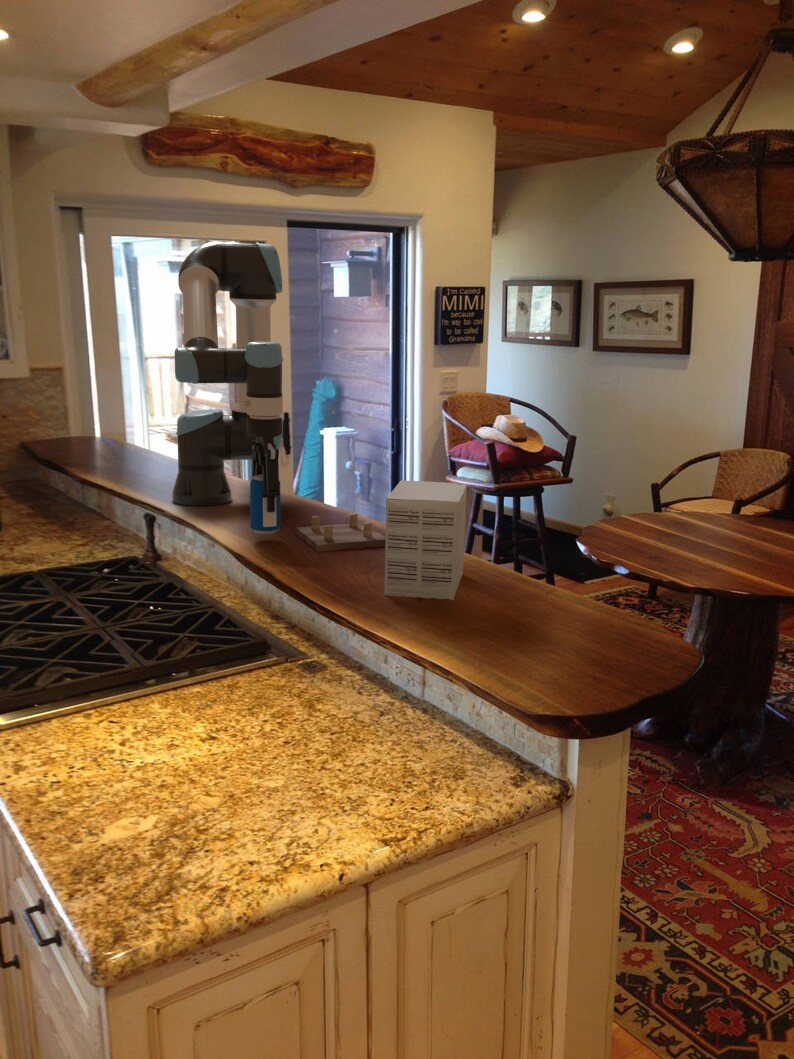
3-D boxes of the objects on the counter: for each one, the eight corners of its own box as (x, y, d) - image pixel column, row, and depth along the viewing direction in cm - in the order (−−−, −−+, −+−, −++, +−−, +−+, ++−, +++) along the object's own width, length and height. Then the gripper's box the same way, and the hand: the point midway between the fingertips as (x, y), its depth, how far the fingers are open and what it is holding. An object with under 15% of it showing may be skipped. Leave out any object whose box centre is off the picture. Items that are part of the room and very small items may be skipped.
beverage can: (283, 528, 201) (283, 474, 198) (276, 535, 195) (276, 480, 192) (254, 526, 202) (254, 473, 199) (247, 534, 196) (246, 479, 193)
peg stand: (296, 534, 205) (295, 514, 204) (362, 529, 211) (362, 510, 210) (317, 551, 191) (317, 530, 190) (388, 545, 197) (388, 525, 196)
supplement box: (397, 569, 180) (399, 479, 175) (464, 574, 178) (468, 483, 173) (381, 595, 163) (383, 497, 159) (455, 601, 161) (459, 501, 157)
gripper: (236, 411, 199) (238, 513, 205) (258, 423, 182) (259, 534, 188) (269, 410, 202) (270, 511, 208) (294, 422, 185) (294, 531, 191)
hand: (265, 522), depth 198 cm, fingers closed on beverage can, 6 cm apart
